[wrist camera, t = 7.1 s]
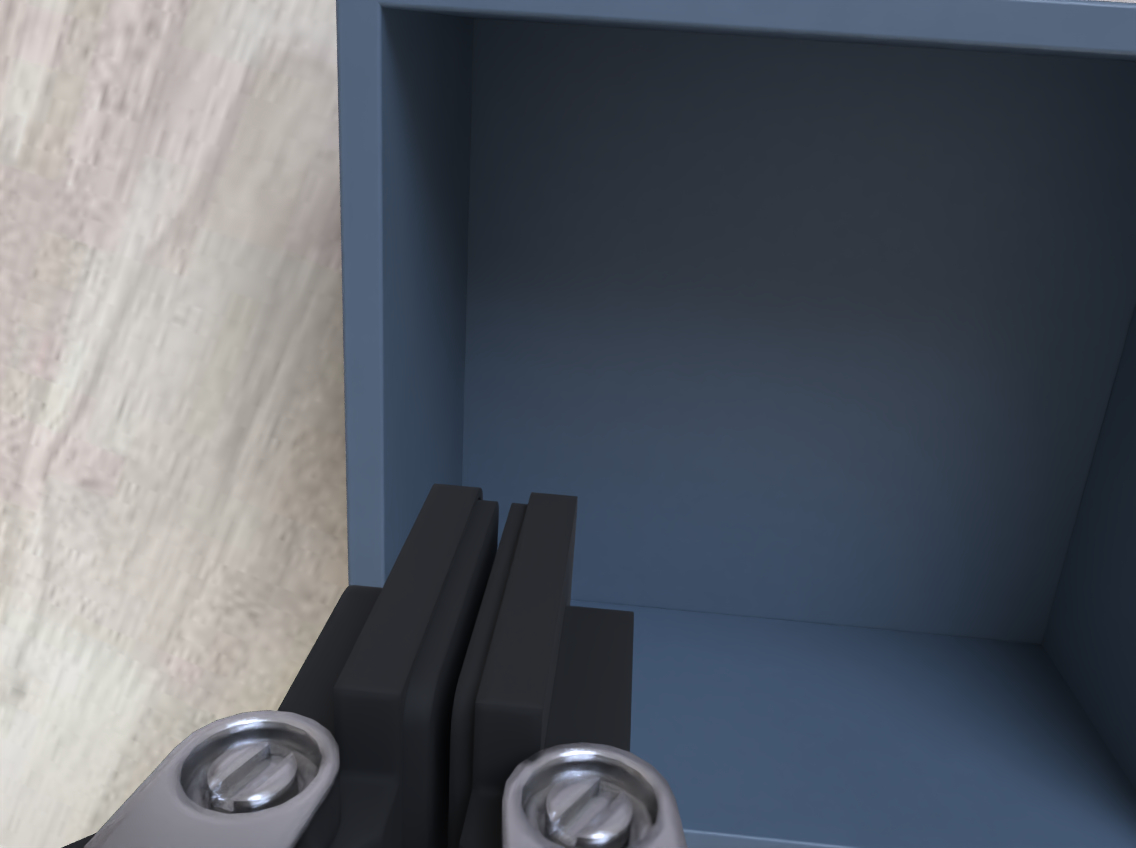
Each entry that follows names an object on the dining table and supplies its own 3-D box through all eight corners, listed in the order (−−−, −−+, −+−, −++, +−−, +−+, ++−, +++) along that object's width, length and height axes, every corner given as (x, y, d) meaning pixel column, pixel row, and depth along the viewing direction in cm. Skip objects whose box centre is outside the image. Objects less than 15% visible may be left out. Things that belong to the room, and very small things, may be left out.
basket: (352, 821, 18) (1222, 915, 17) (333, -48, 13) (1576, 30, 12) (441, 590, 25) (1048, 647, 24) (452, -16, 20) (1219, 33, 19)
